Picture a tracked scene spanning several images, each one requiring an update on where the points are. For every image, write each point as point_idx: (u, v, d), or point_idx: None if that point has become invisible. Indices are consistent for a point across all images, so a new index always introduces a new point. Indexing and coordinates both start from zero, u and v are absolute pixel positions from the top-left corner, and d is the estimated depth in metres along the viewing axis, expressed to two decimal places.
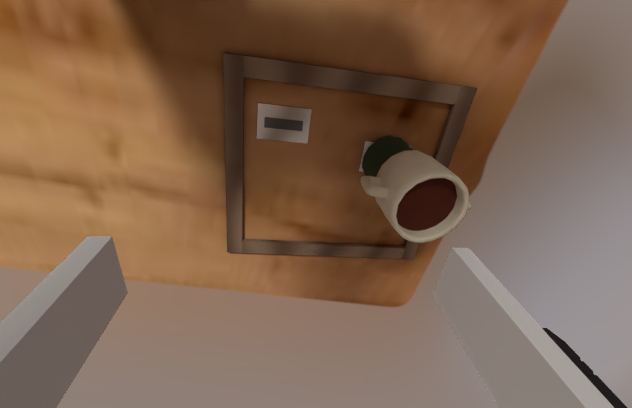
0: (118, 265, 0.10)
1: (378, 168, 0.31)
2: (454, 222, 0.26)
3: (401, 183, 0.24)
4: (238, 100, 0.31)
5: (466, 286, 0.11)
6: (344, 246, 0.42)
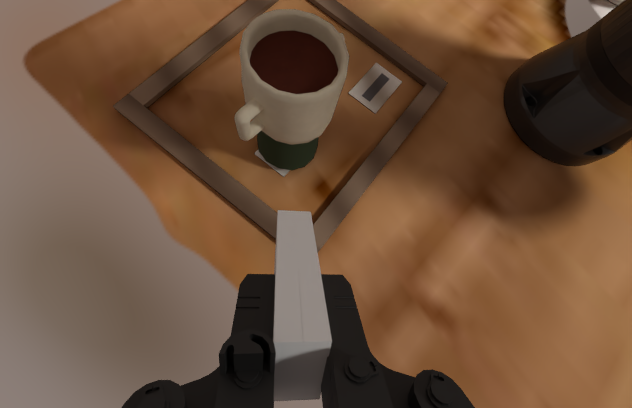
0: None
1: None
2: None
3: None
4: (413, 69, 0.35)
5: None
6: (208, 51, 0.32)
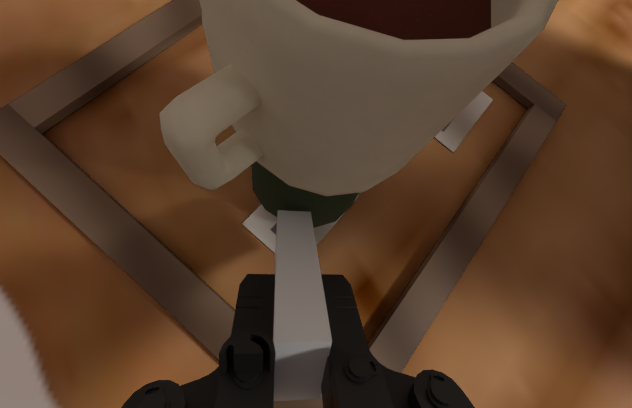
0: None
1: None
2: None
3: None
4: (512, 79, 0.21)
5: None
6: (171, 33, 0.18)
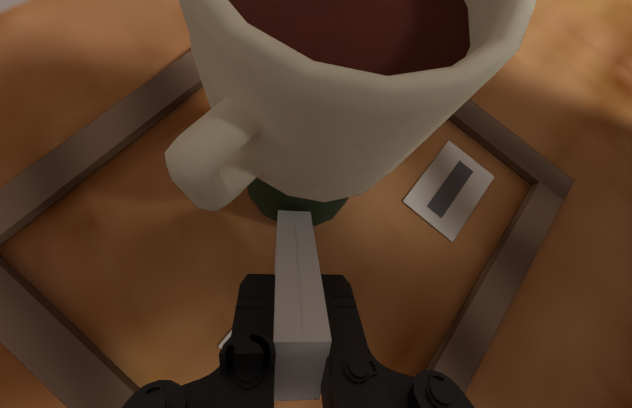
0: None
1: None
2: None
3: None
4: (514, 154, 0.20)
5: None
6: (142, 123, 0.16)
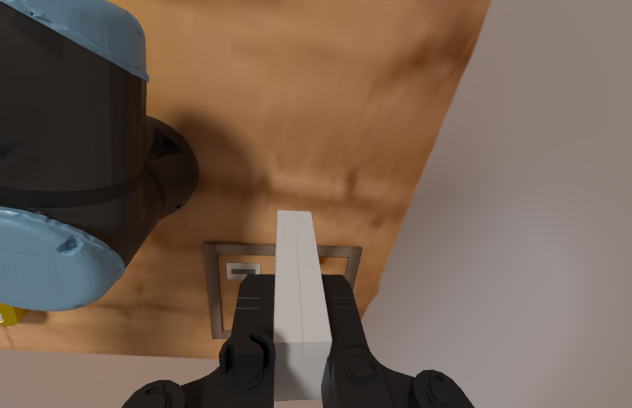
0: None
1: None
2: None
3: None
4: (214, 264, 0.51)
5: None
6: None
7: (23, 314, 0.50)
